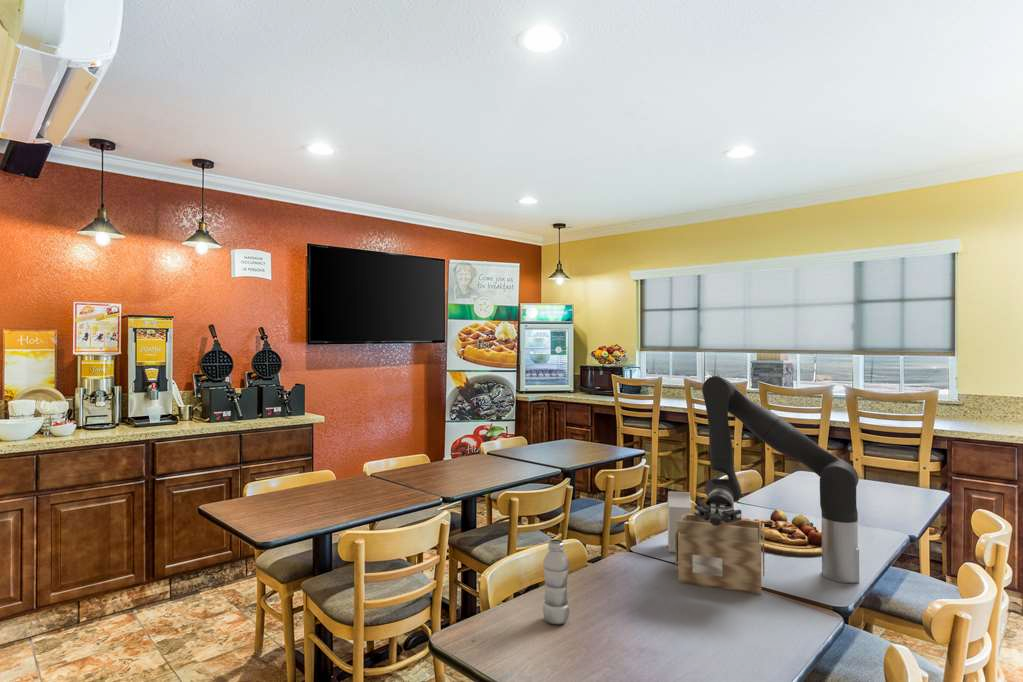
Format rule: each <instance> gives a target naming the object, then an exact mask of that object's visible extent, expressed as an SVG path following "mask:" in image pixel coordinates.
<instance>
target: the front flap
mask: <svg viewBox="0 0 1023 682" xmlns="http://www.w3.org/2000/svg"><path fill="white" fill-rule="evenodd" d="M676 522H677V526H678V529H679V532H680V534H686V535H694V536H703V537H711V538H720V539H728V540H736V541H745V542H753V543H758V528H750V527H741V526H732V525H723V524H719V525H718V526H715V525H712V523H705V522H696V521H686V520H677V519H676Z"/></svg>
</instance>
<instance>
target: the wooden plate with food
mask: <svg viewBox="0 0 1023 682" xmlns="http://www.w3.org/2000/svg"><path fill="white" fill-rule="evenodd" d="M742 519H743V520H750V519H749V518H745V517H743V518H742ZM752 521H759V522H761V551H763V523H764V552H767V553H772V554H776V555H782V556H787V557H796V558H797V557H798V558H799V557H800V558H814V557H815V558H816V557H822V529H819V528H817V526H814V523H813V522H810V521H809V519H808V518H807V517H806V516H804V515H803V514H799V515H797V516H794V517H793V518H792V520H791V522H789V521H788V517H787V515H786V514H785V512H783V510H781V509H779V508H778V509H775V510H774V511H772V512H771V514H770V518H769V519H761V518H757V519H753V520H752Z"/></svg>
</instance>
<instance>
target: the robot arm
mask: <svg viewBox="0 0 1023 682" xmlns="http://www.w3.org/2000/svg"><path fill="white" fill-rule="evenodd" d="M701 393H702V395H703V401H704V405H705V410H706V415H707V423H708V441H709V448H708V449H709V463H710V464H709V465H710V469H711V470H713V471H715V472H720V473H723V474H725V475H726V476H727V478H711V479H708V481H707V482H706V483H705V493H706V501H705V503H704V505H702V506H699V505H696V504H695V505H694V506H693V507H694V514H695V515H696V516H698V517H700V518H702V519H704V520H706V521H707V520H709V519H710V523H712V525H715V526H718V525H719V524H721V523H722V522H723V521H725V522H726V523H729V522H733V521H738V520H741V519H743V518H742V517H743V516H742V510H741V509H734V507H735V506H734V503H737V502H738V501H740V500H741V498H742V488H741V486H740V483H739V480H738V477H737V474H736V471H735V464H734V452H733V451H734V449H733V448H734V447H733V440H732V435H731V430H730V425H729V414H731V415H732V416H733V417H735V418H736V419H738V420H739V421H740V422H741V423H742V424H743V426H745V427H746V428H747V429H748V430H749V431H750V432H751V433H752V434H753V435H754V436H756V437H757V438H758V439H759V440H760V441H762V442H763V443H765V444H766V445H768V447H770V448H772V449H773V450H774V451H776V452H778V453H780V454H782V455H784V456H785V457H788V458H790V459H792V460H795V461H797V462H799V463H801V464H803V465H804V466H806V467H807V468H808V469H810V470H811V471H812V472H814V473H815V474H816V475H817V476H818V477H819V506H820V511H821V531H822V556H821V575H822V577H824V578H825V579H828V580H831V581H833V582H838V583H845V584H850V583H851V584H852V583H859V584H860V549H859V545H858V543H859V535H858V534H859V529H858V528H859V524H858V523H859V521H858V519H859V517H858V516H859V513H858V508H857V507H858V506H857V486H858V484H859V474H858V472H857V470H856V468H854V466H853V465H851V464H850V463H848V462H847V461H845V460H844V459H842V458H840V457H838V456H837V455H834V454H833V453H831V452H829V451H828V450H826V449H825V448H823V447H821V446H819V445H818V444H817V443H816V442H814V441H813V440H812V439H811V438H809V437H808V436H807V435H805V434H804V433H803V432H802V431H800V430H799V429H797V428H796V427H795V426H793V425H792V424H791V423H789V422H788V421H787V420H785V419H784V418H782V417H781V416H780V415H778V414H776V413H775V412H773V411H771V410H769V409H768V408H766V407H764V406H763V405H761V404H758V403H756V402H755V401H753V400H751V399H750V398H749V397H747V396H746V395H745V394H744V393H743V392H741V391H740V390H739V389H738V388H737V387H736V386H735V385H733V383H732V382H731V381H729V380H728V379H726V378H725V377H722V376H720V375H712V376H709V377H708V378H707V379H706V380H704V382H703V384H702V387H701ZM729 518H730V519H729Z"/></svg>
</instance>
